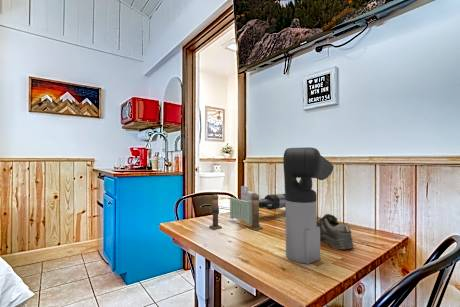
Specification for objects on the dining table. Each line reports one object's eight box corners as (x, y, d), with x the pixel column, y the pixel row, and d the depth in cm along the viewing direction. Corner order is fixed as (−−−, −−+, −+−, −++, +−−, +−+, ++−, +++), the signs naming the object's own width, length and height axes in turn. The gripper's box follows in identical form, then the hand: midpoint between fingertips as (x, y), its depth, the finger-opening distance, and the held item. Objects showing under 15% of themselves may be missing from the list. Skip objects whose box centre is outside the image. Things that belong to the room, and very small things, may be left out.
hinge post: (262, 228, 108) (261, 193, 108) (255, 230, 105) (254, 194, 106) (256, 226, 111) (255, 192, 111) (249, 228, 109) (248, 193, 109)
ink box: (256, 214, 136) (256, 186, 137) (248, 215, 134) (248, 187, 135) (248, 211, 144) (248, 185, 144) (241, 212, 142) (240, 185, 142)
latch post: (221, 228, 109) (221, 194, 109) (213, 229, 107) (213, 195, 107) (216, 226, 112) (216, 193, 113) (209, 227, 110) (208, 194, 110)
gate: (252, 223, 111) (252, 201, 112) (249, 224, 110) (249, 201, 111) (232, 217, 124) (232, 197, 124) (230, 218, 123) (230, 197, 123)
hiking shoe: (322, 226, 104) (311, 202, 101) (365, 248, 84) (353, 219, 81) (305, 239, 101) (294, 215, 98) (345, 265, 82) (332, 236, 79)
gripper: (266, 192, 136) (240, 195, 126) (284, 195, 125) (258, 198, 115) (266, 207, 136) (240, 210, 126) (284, 211, 125) (258, 215, 115)
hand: (249, 205), depth 120 cm, fingers closed
